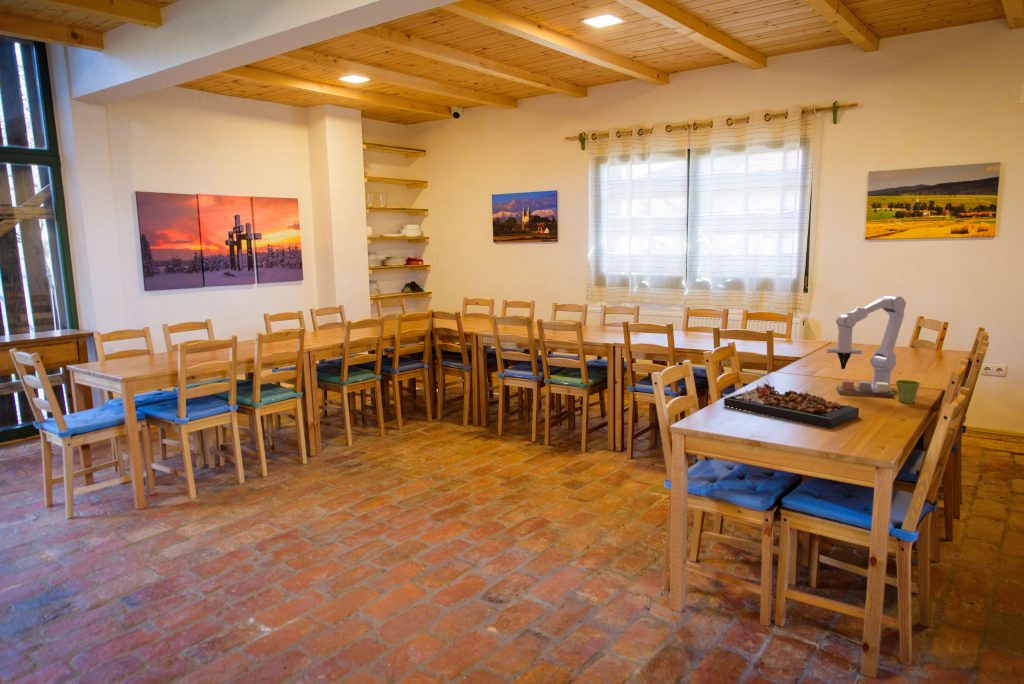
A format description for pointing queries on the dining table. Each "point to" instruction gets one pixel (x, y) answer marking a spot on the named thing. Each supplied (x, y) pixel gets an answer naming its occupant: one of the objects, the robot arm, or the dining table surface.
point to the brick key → (848, 384)
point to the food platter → (793, 406)
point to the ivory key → (882, 386)
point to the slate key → (864, 385)
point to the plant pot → (907, 390)
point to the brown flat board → (865, 392)
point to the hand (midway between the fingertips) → (843, 368)
